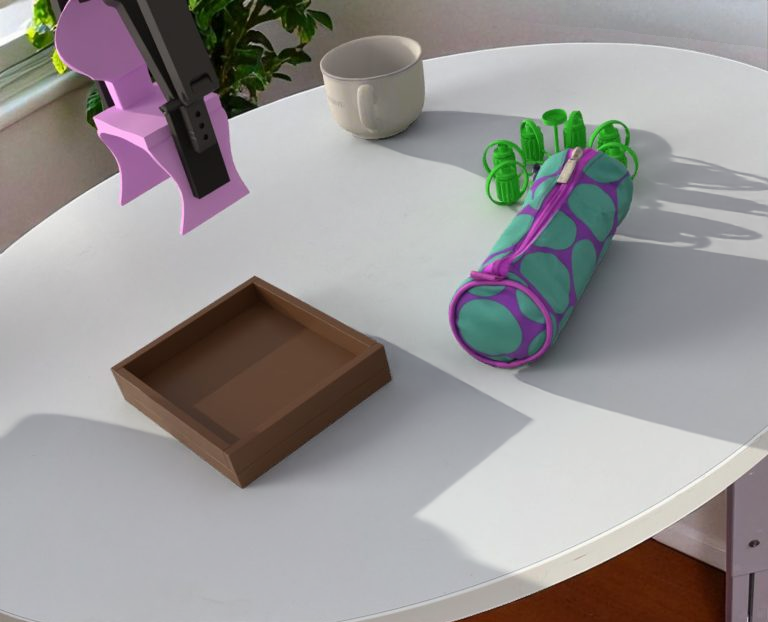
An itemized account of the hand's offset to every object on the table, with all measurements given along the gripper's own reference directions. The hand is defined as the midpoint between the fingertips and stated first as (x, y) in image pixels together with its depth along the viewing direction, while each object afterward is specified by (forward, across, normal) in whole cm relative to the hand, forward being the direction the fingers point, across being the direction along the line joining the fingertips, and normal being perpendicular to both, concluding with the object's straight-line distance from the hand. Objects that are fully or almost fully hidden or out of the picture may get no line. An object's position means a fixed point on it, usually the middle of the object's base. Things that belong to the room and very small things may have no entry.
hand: (176, 172), depth 77 cm
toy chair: (+3, 0, 0) cm, 3 cm away
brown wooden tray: (+19, -1, +1) cm, 19 cm away
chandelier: (+20, -2, -36) cm, 41 cm away
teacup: (+20, +22, -35) cm, 46 cm away
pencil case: (+20, -14, -22) cm, 32 cm away
